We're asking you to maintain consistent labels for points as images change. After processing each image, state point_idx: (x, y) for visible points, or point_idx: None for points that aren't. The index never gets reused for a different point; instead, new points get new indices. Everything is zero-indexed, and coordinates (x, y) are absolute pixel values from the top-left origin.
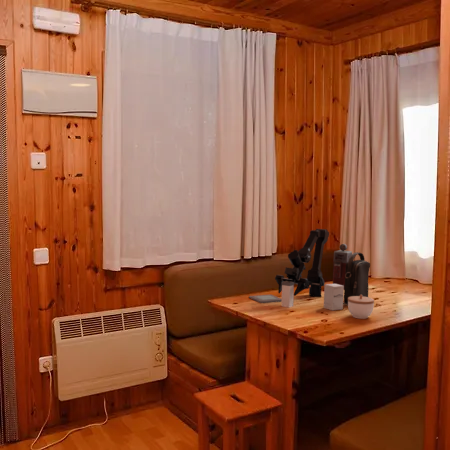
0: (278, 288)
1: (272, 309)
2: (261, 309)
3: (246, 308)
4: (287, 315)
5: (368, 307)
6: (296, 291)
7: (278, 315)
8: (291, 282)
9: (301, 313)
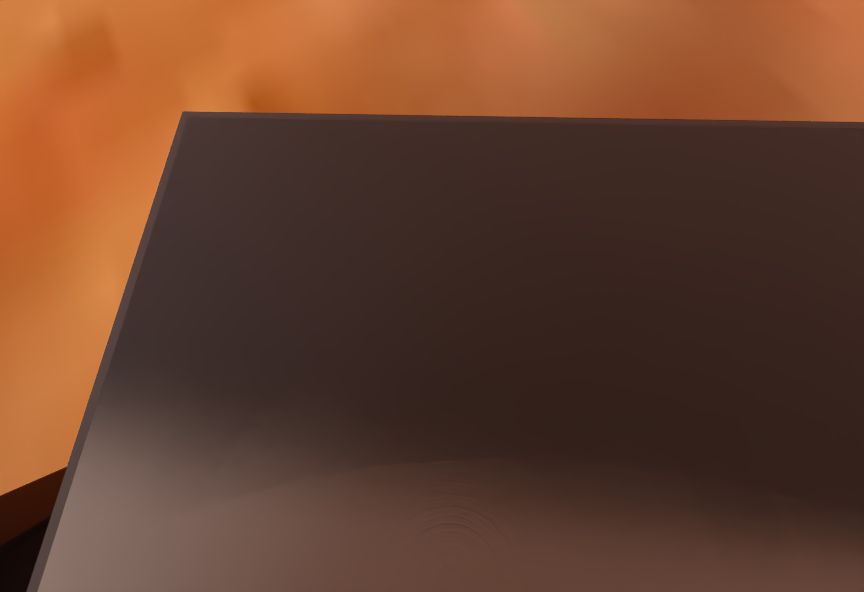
0: None
1: None
2: (655, 109)
3: (830, 48)
4: (232, 63)
5: None
6: (49, 476)
7: (327, 14)
8: (122, 450)
9: (81, 236)
